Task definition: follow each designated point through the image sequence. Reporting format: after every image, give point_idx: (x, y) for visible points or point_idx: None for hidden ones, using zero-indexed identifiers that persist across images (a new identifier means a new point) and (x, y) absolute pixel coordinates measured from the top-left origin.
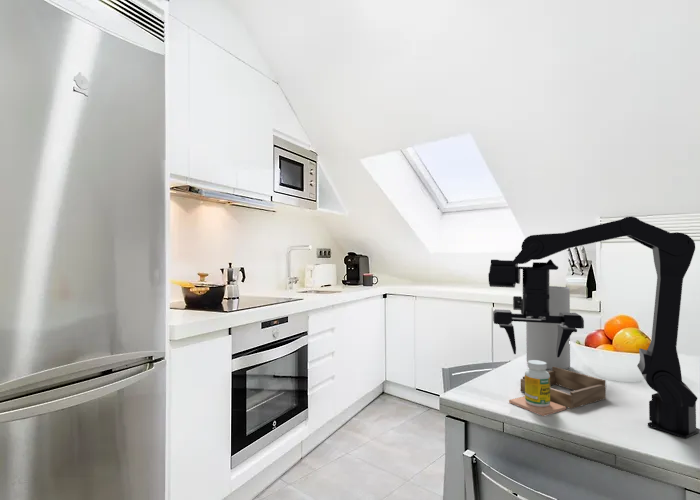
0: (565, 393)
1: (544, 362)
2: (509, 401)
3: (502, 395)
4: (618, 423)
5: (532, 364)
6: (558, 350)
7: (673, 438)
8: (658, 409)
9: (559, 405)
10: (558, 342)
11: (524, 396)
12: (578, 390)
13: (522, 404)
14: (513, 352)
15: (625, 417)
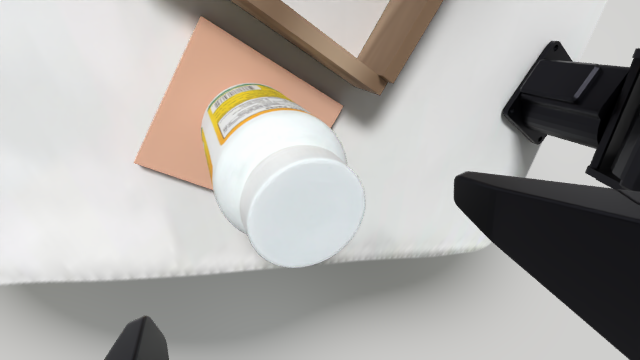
0: (363, 78)
1: (355, 195)
2: (137, 162)
3: (56, 75)
4: (449, 131)
5: (285, 263)
6: (502, 250)
7: (516, 151)
8: (562, 126)
9: (323, 105)
10: (574, 267)
11: (179, 72)
12: (416, 32)
13: (202, 179)
14: (127, 329)
15: (478, 70)
